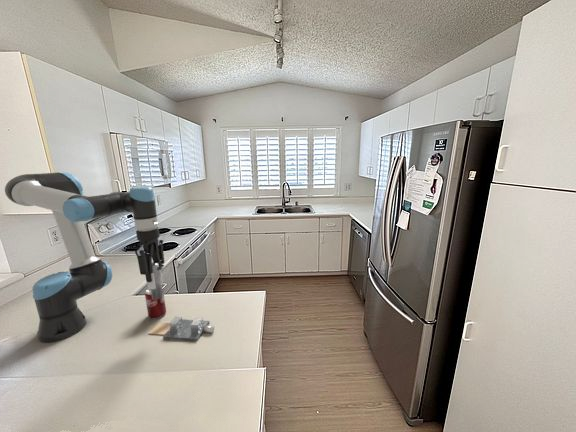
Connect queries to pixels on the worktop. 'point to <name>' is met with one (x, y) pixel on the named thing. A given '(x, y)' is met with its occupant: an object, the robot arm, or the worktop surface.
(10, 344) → the worktop surface
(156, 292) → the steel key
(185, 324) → the block
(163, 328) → the cork mat
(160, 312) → the soda can
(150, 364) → the worktop surface
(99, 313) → the worktop surface
